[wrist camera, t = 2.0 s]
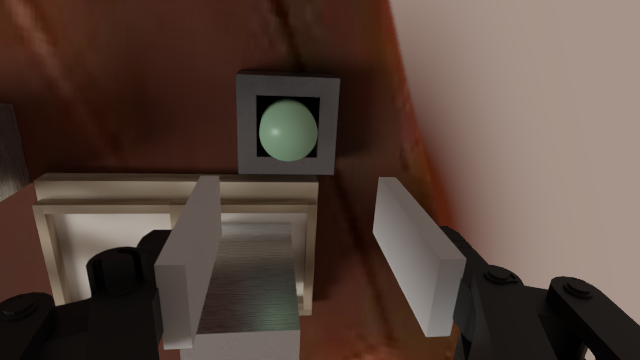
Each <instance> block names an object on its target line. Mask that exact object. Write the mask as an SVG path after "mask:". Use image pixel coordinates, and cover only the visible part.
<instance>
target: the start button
mask: <svg viewBox="0 0 640 360" xmlns="http://www.w3.org/2000/svg"><path fill="white" fill-rule="evenodd" d="M259 135H260V141H261V143H262V146H263V147H264V149H265V150H266V151H267V153H268V154H270V155H271V156H272V157H274V158H276V159H278V160H282V161H296V160H299V159H301V158H303V157H305V156H306V155H307V154H309V153H310V152H311V150H312V149H313V148H314V146H315V144H316V141H317V136H318V130H317V125H316V122H315V120H314V118H313V116H312V114H311V112H310V110H309V109H308V108H307V107H306V106H305V105H304V104H303V103H302V102H300V101H298V100H295V99H291V98H283V99H279V100H276V101H274V102H272V103H271V104H270V105H269V106H268V107H267V108H266V109H265V111H264V112H263V114H262V117H261V123H260V131H259Z"/></svg>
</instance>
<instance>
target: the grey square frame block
mask: <svg viewBox="0 0 640 360" xmlns="http://www.w3.org/2000/svg"><path fill="white" fill-rule="evenodd" d="M339 89H340V78H338V77H337V76H335V75H334V74H324V73H301V72H279V71H256V70H239V71H238V73H237V74H236V100H237V138H238V174H304V175H334V162H335V147H336V133H337V118H338V104H339ZM258 95H267V96H296V97H315V100H314V120H315V122H316V125H317V130H318V136H317V141H316V144H315V146H314V148H313V149H312V150H311V152H310V153H309V154H307V155H306V156H305V157H303V158H301V159H299V160H296V161H282V160H278V159H276V158H274V157H272V156H271V155H270V154H268V153H267V151H266V150H265V149H264V147H263V146H262V144H258Z"/></svg>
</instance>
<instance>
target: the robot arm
mask: <svg viewBox="0 0 640 360" xmlns="http://www.w3.org/2000/svg"><path fill="white" fill-rule="evenodd" d="M373 234H374V236H375V238H376V240H377V242H378V244H379V246H380V247H381V249H382V251H383V253H384V255H385V257H386V259H387V261H388V263H389V265H390V267H391V269H392V271H393V273H394V275H395V277H396V279H397V281H398V283H399V285H400V287H401V289H402V291H403V293H404V295H405V297H406V299H407V301H408V302H409V304H410V306H411V308H412V310H413V312H414V314H415V316H416V318H417V320H418V322H419V324H420V326H421V328H422V330H423V332H424V334H425V336H426V337H436V336H450V332H451V328H452V323H453V320H454V322H455V323H456V325H457V326H458V328H459V329H460V333H459V337H458V342H457V346H456V350H455V355H454V360H458V358H460V360H586V359H585V358H584V357H585V354H586V352H587V349H588V348H589V349H590V350H591V352H592V353H593V355H594V356H595V358H596V360H640V326H639V325H638V324H637V323H636V322H635V321H634V320H633V319H631V318H630V317H629V316H628V315H627V314H626V313H625V312H624V311H623V310H621V309H620V308H619V307H618V306H617V305H616V304H615V303H613V302H612V301H611V300H610V299H609V298H608V297H607V296H606V295H605V294H603V293H602V292H601V291H600V290H598V289H597V288H596V287H594V286H593V285H590V284H588V283H586V282H585V281H583V280H580V279H577V278H573V277H564V276H561V277H555V278H553V279H552V280H551V283H550V286H549V289H548V290H547V289H541V288H535V287H529V286H524V284H523V282H522V281H521V279H520V278H519V277H518V276H517V275H516V274H514V273H513V272H511V271H509V270H507V269H505V268H502V267H498V266H495V265H488V263H487V262H486V261H485V260H484V259H483V258H482V257H481V256H480V255H479V254H478V253H477V252H476V251H475V250H474V249H473V248H472V247H471V246H470V244H469V243H468V242H466V240H465V239H464V238H463V237H462V236H461V235H460V234H459V233H458V232H456V231H455V230H453V229H451V228H449V227H448V226H438V225H437V224H436V223H435V222H434V221H433V220H432V219H431V217H430V216H429V215H428V214H427V213H426V212H425V211H424V209H423V208H422V207H421V206H420V205H419V204H418V202H417V201H416V200H415V199H414V198H413V197H412V196H411V194H410V193H409V192H408V191H407V190H406V189H405V188H404V186H403V185H402V184H401V183H400V182H399V181H398V179H397V178H396V177H379V182H378V190H377V199H376V208H375V217H374V225H373ZM221 235H222V225H221V202H220V180H219V176H200V178H199V180H198V182H197V183H196V185H195V187H194V189H193V191H192V193H191V195H190V197H189V199H188V201H187V203H186V205H185V207H184V209H183V210H182V212H181V214H180V216H179V218H178V220H177V222H176V224H175V226H174V228H173V230H152V231H151V232H149V233H148V234H146V235H145V236H143V237H142V238H141V240H140V242H139V243H138V245H137V247H129V246H126V247H116V248H112V249H108V250H105V251H103V252H100V253H98V254H96V255H95V256H93V257H92V258H91V259H89V261H88V262H87V264H86V270H87V275H88V280H89V285H90V291H91V297H90V298H88V299H84V300H81V301H77V302H72V303H68V304H63V305H58V306H55V303H54V300H53V298H52V296H51V295H49V294H46V293H37V292H32V293H27V294H21V295H17V296H15V297H11V298H9V299H7V300H5V301H3V302H1V303H0V360H159V353H158V345H159V342H160V340H161V337H162V336H163V344H164V349H183V348H193V344H194V340H195V336H196V332H197V328H198V325H199V321H200V317H201V313H202V309H203V305H204V301H205V297H206V293H207V290H208V286H209V282H210V278H211V274H212V270H213V266H214V262H215V259H216V255H217V251H218V247H219V243H220V239H221Z"/></svg>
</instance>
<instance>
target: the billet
mask: <svg viewBox="0 0 640 360" xmlns="http://www.w3.org/2000/svg"><path fill="white" fill-rule="evenodd" d="M30 183H31V180H30V176H29V172H28V168H27V163H26V159H25V155H24V150H23V146H22V142H21V138H20V133H19V129H18V125H17V120H16V116H15V112H14V108H13V104H1V103H0V202H1V201H2V200H4V199H6V198H7V197H9V196H10V195H12V194H14V193H15V192H17V191H19V190H20V189H22V188H24V187H25V186H27V185H29V184H30Z"/></svg>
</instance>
